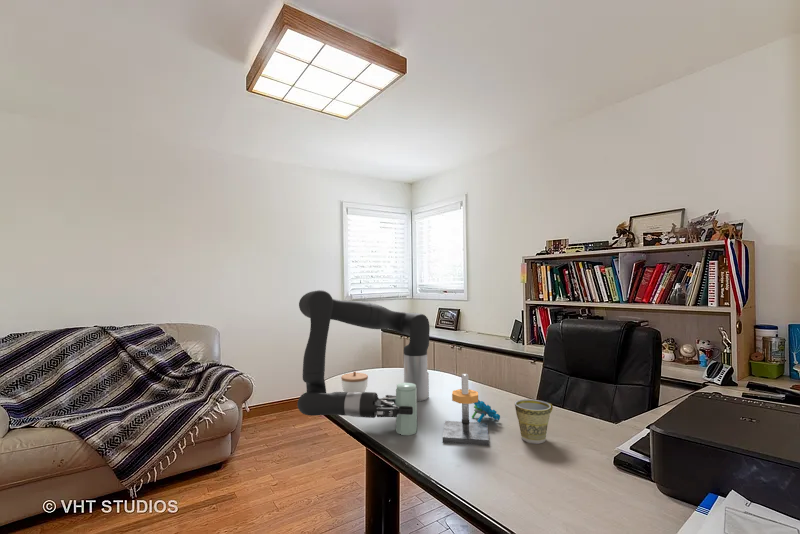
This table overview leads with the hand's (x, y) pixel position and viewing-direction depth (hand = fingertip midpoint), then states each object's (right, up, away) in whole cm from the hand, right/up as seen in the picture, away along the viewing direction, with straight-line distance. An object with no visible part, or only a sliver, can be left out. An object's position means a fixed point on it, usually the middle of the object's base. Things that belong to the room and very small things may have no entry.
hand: (414, 407), depth 120 cm
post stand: (+15, -7, -3) cm, 17 cm away
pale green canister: (-2, -8, 0) cm, 8 cm away
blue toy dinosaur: (+24, -8, +9) cm, 27 cm away
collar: (+15, +3, -3) cm, 16 cm away
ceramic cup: (+36, -7, -6) cm, 37 cm away
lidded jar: (-23, -9, +38) cm, 45 cm away
